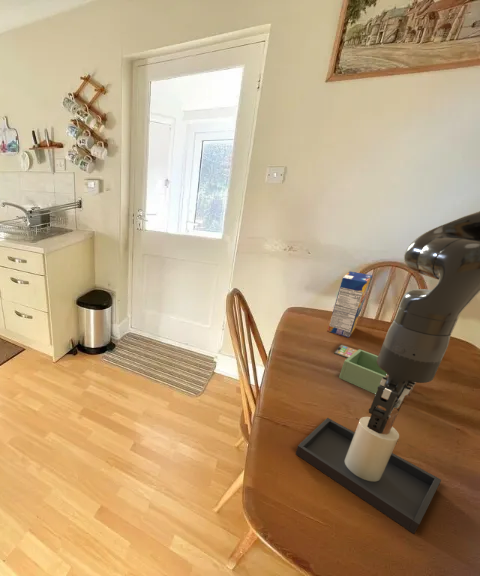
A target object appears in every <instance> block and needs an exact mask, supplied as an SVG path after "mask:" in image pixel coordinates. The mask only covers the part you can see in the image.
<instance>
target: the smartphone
mask: <svg viewBox="0 0 480 576" xmlns="http://www.w3.org/2000/svg"><path fill="white" fill-rule="evenodd" d="M358 350H359V349H355V348H352V347H350V346H347V345H344V344H340V345H339V346H338V348H336V350H335V351H334V352H333V354H334V355H336V356H340V357H342V358H346V359H347V358H349V357H350V356H351V355H352V354H354V353H355V352H356V351H358Z"/></svg>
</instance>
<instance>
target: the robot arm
mask: <svg viewBox="0 0 480 576" xmlns="http://www.w3.org/2000/svg"><path fill="white" fill-rule="evenodd" d="M403 262H404V264H405V265H406V267H407V268H408V269H409V270H411V271H413V272H414V273H417V274H419V275H422V276H426V277H429V278H432V279H435V280H437V281H438V282H437V284H436V285H435V286H434V287H433V288H432V289H424V288H415V289H410V290H408V291H406V292H405V293H404V294H403V295H402V298H401V300H400V302H399V305H398V308H397V311H396V313H395V316H394V319H393V321H392V322H391V324H390V326H389V328H388V329H387V332H386V335H385V337H384V340H383V343H382V345H381V347H380V351H379V353H378V355H377V356H378V358H377V364H378V366H379V367H380V368H381V369H382V370H384V371H385V372H386V373H387V374H386V377H383V378H382V380H381V381H380V386H378V388H377V389H378V390H377V393H376V394H374V397H373V400H372V403H371V405H370V408H369V409H368V414H370V416H369V417H370V420H369V422H368V425H367V427H368V428H369V429H371V430H373V431H375V432H377V433H379V434H381V433H382V432H383V431H384V429H385V426H386V424H387V421H388V419H389V418H391V414H392V412H393V410H394V409H397V410H398V413H399V412H400V409H401V407H402V406H403V403H404V400H405V399H407V398H409V396H410V395H411V393H412V392H413V390H414V388H415V387H416V384H417V383H418V384H426V383H430V382H432V381H433V380H434V378H435V376H436V374H437V372H438V370H439V367H440V365H441V362H442V361H443V358H444V357H445V354H446V351H447V350H448V347H449V345H450V339H451V335H452V333H453V331H454V329H455V327H456V325H457V322H458V320H459V317H460V315H461V314H462V312H463V311H464V310H465V308H466V307H468V305H470V303H471V302H472V301H473V300H474V299H475V298H476V297H477V296H478V295H479V294H480V210H479V211H476V212H473V213H470V214H467V215H464V216H462V217H459V218H457V219H454V220H451V221H449V222H447V223H446V222H445V223H444V224H441V225H439V226H437V227H434V228H432V229H430V230H428V231H425V232H424V233H423V234H420V235H419V236H418V237H416V238H415V239H414V240H413V241H412V242H411V243H410V244H409V245H408V247H407V248H406V250H405V252H404V254H403ZM378 406H382V407H384V408H385V409H386V411H384V410H382V409H380V408H378Z"/></svg>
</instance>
